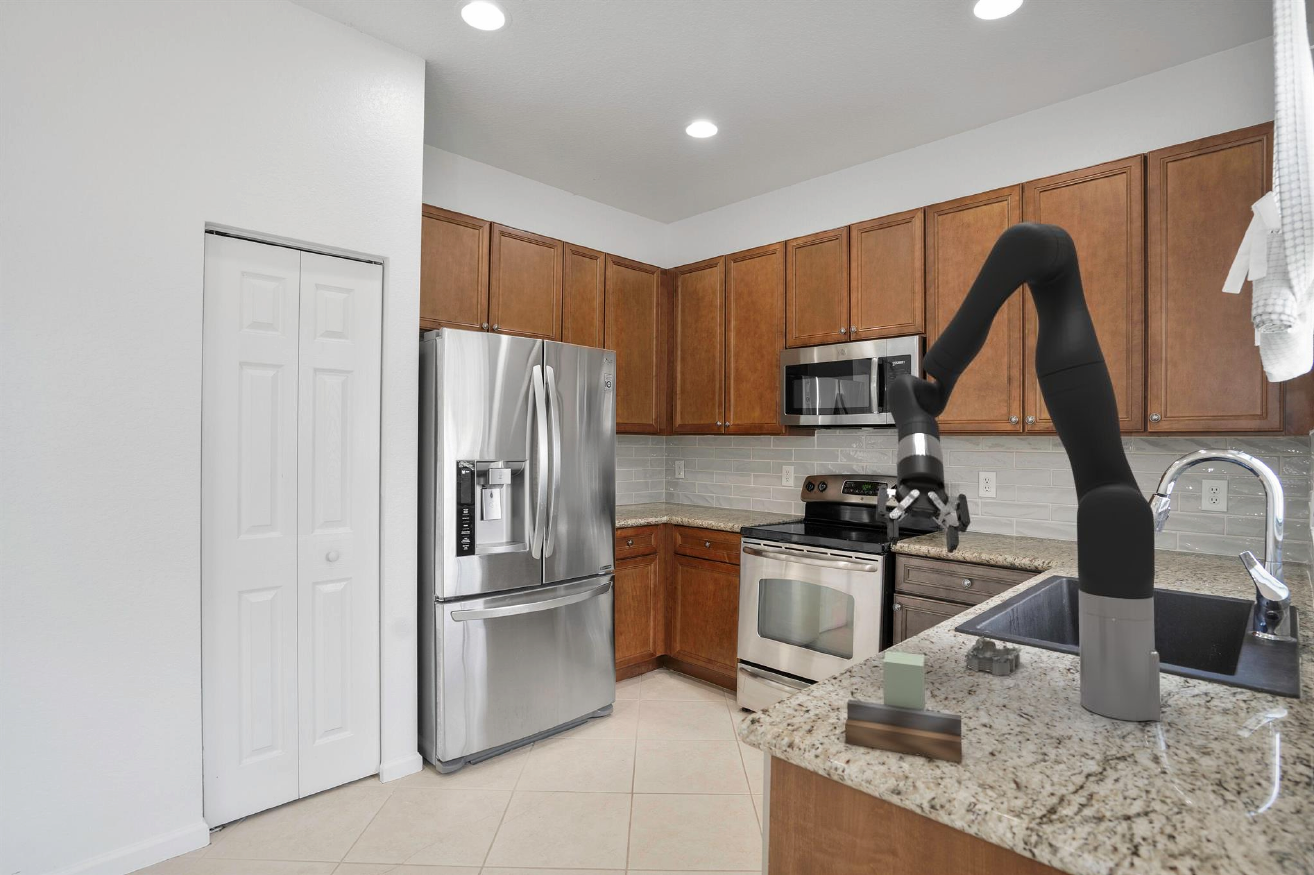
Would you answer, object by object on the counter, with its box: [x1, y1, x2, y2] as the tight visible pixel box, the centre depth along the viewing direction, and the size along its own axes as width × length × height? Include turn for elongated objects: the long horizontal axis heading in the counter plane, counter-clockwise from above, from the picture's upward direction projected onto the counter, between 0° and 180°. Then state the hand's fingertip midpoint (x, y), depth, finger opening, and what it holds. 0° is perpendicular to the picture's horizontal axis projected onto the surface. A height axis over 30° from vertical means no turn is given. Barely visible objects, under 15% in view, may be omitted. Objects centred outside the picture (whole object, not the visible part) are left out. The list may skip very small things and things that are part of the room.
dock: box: [844, 698, 963, 763], centre depth 90 cm, size 14×10×4 cm
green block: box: [882, 650, 926, 710], centre depth 91 cm, size 5×5×10 cm
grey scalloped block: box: [964, 635, 1023, 676], centre depth 119 cm, size 11×8×4 cm
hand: (923, 546), depth 106 cm, fingers open, 8 cm apart
